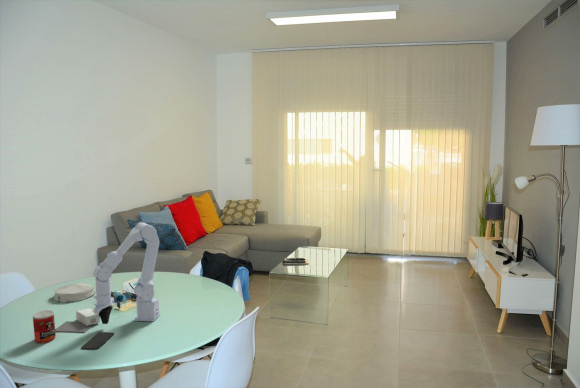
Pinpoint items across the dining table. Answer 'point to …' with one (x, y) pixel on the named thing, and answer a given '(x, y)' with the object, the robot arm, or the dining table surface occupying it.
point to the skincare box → (87, 316)
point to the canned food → (44, 326)
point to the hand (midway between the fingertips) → (105, 323)
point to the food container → (73, 292)
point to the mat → (73, 327)
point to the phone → (97, 341)
